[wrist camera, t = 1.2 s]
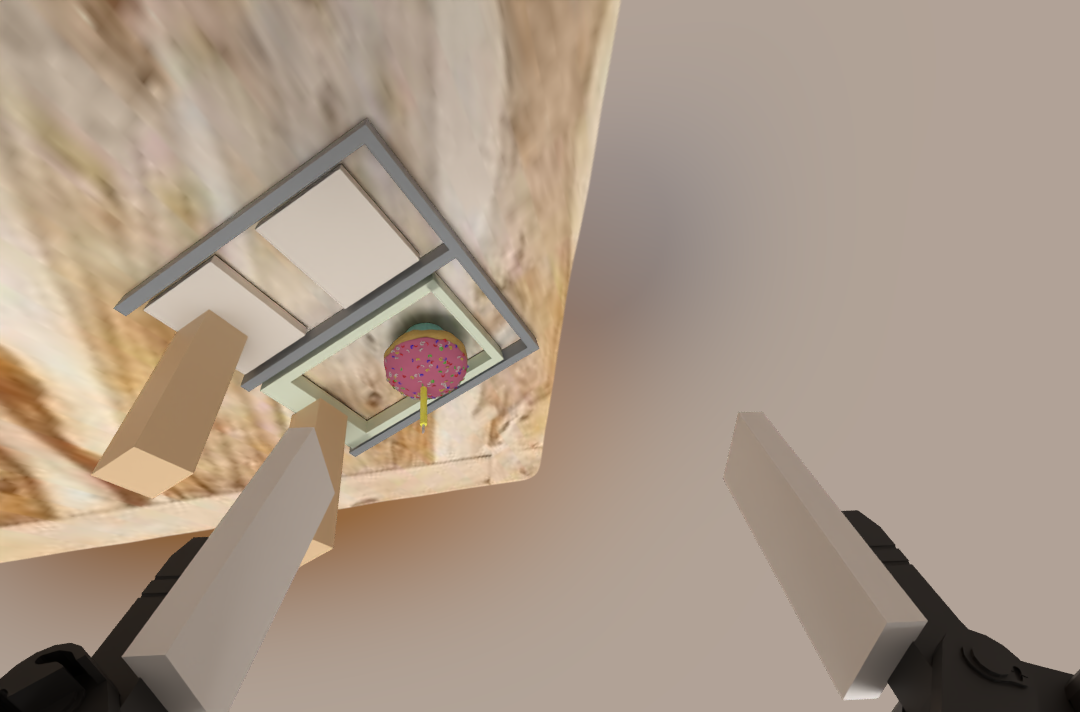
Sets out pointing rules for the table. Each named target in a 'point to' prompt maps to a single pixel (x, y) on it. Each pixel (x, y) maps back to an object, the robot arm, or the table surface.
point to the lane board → (368, 303)
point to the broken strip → (245, 326)
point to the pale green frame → (341, 422)
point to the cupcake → (425, 364)
